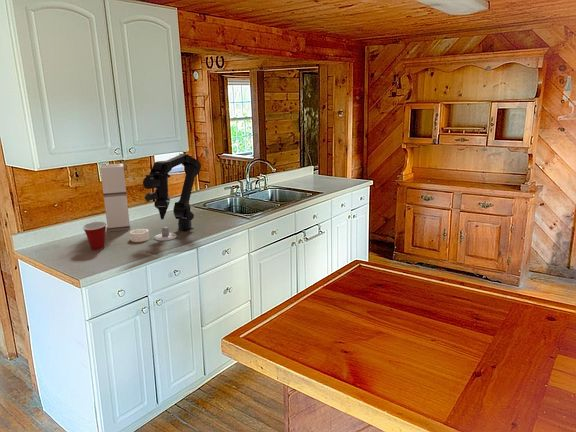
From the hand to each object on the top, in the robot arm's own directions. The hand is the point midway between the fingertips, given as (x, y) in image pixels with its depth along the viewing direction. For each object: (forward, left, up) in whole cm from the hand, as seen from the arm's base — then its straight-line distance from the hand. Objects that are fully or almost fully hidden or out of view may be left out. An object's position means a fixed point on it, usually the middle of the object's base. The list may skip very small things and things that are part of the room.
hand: (163, 217), depth 224 cm
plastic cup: (+28, -15, -11) cm, 34 cm away
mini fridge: (+1, -37, -11) cm, 39 cm away
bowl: (+8, -9, -11) cm, 17 cm away
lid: (-1, 0, -11) cm, 11 cm away
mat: (-1, 0, -11) cm, 11 cm away
